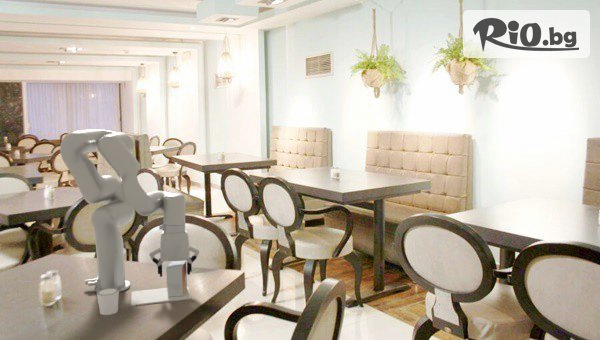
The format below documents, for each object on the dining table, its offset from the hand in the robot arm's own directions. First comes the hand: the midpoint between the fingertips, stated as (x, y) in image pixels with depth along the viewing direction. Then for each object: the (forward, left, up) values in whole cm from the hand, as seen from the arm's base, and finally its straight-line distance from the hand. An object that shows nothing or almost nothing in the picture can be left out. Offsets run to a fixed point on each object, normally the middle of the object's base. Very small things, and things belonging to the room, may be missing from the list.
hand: (174, 274), depth 188 cm
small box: (+1, 0, -7) cm, 7 cm away
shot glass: (-22, -10, -7) cm, 25 cm away
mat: (-5, -1, -7) cm, 9 cm away
